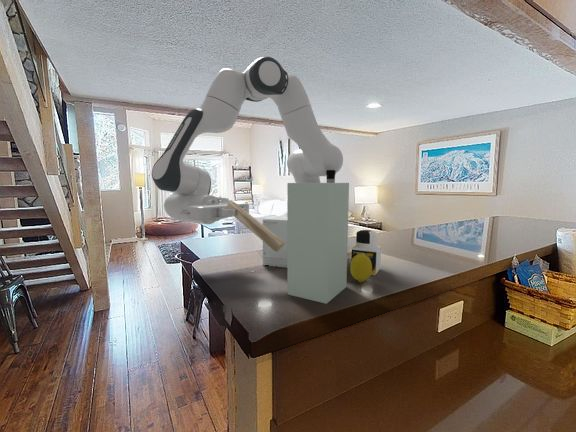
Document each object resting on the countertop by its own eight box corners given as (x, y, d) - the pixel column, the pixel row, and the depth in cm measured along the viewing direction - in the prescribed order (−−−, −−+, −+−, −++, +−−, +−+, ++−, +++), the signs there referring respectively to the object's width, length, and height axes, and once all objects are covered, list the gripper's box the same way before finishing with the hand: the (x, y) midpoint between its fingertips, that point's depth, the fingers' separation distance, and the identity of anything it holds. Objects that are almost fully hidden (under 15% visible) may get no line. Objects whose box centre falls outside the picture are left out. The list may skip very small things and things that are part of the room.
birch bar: (231, 208, 85) (234, 201, 84) (281, 250, 77) (284, 242, 76) (225, 209, 83) (228, 202, 82) (275, 251, 75) (279, 244, 74)
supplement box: (261, 265, 92) (261, 218, 90) (271, 258, 100) (271, 215, 98) (289, 268, 89) (289, 219, 87) (297, 260, 97) (297, 216, 96)
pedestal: (311, 279, 79) (312, 182, 75) (346, 286, 73) (349, 182, 70) (287, 294, 68) (287, 183, 65) (326, 303, 63) (328, 183, 60)
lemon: (345, 280, 78) (346, 251, 77) (363, 278, 80) (364, 249, 79) (357, 287, 73) (358, 256, 72) (375, 284, 75) (377, 254, 74)
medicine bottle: (350, 272, 85) (351, 231, 84) (357, 265, 92) (358, 228, 90) (375, 275, 82) (377, 233, 81) (380, 269, 88) (381, 229, 87)
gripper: (176, 200, 80) (212, 203, 72) (228, 197, 97) (262, 199, 90) (177, 223, 80) (212, 228, 73) (229, 216, 97) (262, 219, 90)
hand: (240, 212), depth 81 cm, fingers closed on birch bar, 2 cm apart
